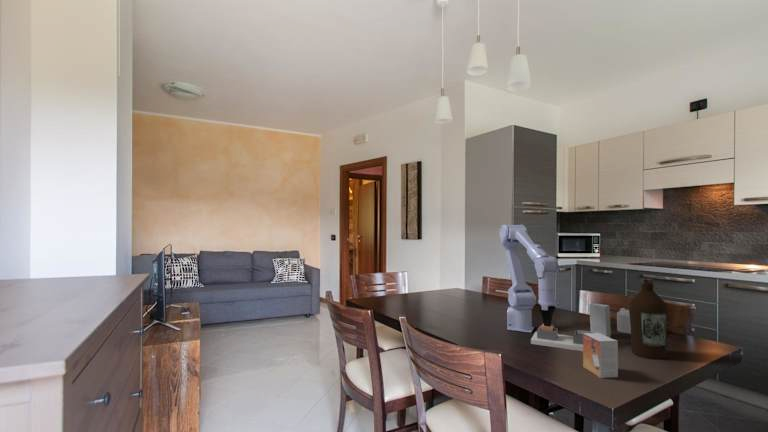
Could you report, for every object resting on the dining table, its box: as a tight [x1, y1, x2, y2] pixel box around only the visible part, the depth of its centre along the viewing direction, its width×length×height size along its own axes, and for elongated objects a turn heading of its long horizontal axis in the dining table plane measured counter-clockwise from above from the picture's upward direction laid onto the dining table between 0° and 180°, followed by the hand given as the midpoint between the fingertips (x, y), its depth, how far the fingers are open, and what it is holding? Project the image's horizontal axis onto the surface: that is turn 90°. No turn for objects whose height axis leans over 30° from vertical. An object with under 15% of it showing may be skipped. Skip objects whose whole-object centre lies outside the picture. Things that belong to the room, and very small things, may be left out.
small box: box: [582, 333, 619, 379], centre depth 110 cm, size 8×6×10 cm
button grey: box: [577, 329, 591, 335], centre depth 134 cm, size 4×4×4 cm
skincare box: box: [588, 302, 612, 338], centre depth 146 cm, size 6×4×12 cm
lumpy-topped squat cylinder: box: [616, 307, 631, 335], centre depth 153 cm, size 10×13×9 cm
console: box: [530, 325, 593, 352], centre depth 137 cm, size 22×12×4 cm, turn 60°
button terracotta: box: [540, 323, 555, 332], centre depth 140 cm, size 4×4×4 cm
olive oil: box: [628, 278, 668, 360], centre depth 125 cm, size 11×11×25 cm
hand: (547, 325), depth 140 cm, fingers closed, pressing on button terracotta
